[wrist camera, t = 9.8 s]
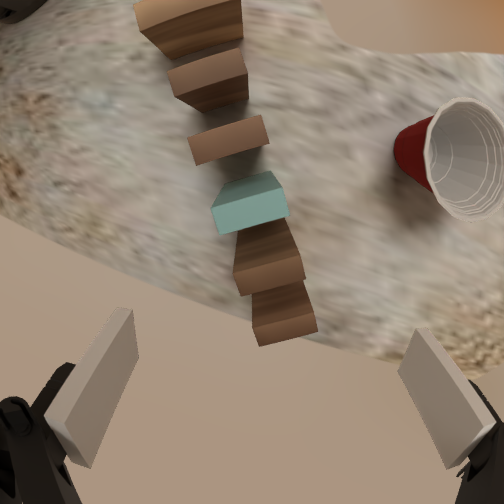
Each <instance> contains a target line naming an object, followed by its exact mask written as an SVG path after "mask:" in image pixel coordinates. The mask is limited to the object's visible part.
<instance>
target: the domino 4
mask: <svg viewBox="0 0 504 504" xmlns="http://www.w3.org/2000/svg"><path fill="white" fill-rule="evenodd" d="M233 276H234V278H235V281H236V284H237V287H238V290H239V293H240V295H241V296H245V295H249V294H253V293H257V292H261V291H264V290H268V289H272V288H276V287H279V286H283V285H287V284H290V283H294V282H298V281H301V280H305V279H306V277H305V272H304V268H303V264H302V260H301V256H300V253H299V251H298V248H297V246H296V244H295V241H294V239H293V236H292V234H291V232H290V229H289V227H288V225H287V222H286V220H285V218H284V217H283V218H280V219H276V220H272V221H269V222H265V223H262V224H258V225H255V226H251V227H248V228H244V229H241V230H238V237H237V244H236V252H235V259H234V267H233Z"/></svg>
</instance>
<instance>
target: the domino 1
mask: <svg viewBox="0 0 504 504" xmlns="http://www.w3.org/2000/svg"><path fill="white" fill-rule="evenodd" d="M167 74H168V77H169V80H170V84H171V87H172V90H173V94H174V97H176V98H177V99H179V100H181V101H183V102H185V103H186V104H188V105H190V106H192V107H193V108H195V109H197V110H198V111H200V112H202V113H203V112H206V111H209V110H212V109H216V108H219V107H222V106H225V105H228V104H232V103H235V102H238V101H242V100H245V99H249V90H248V72H247V69H246V66H245V63H244V60H243V57H242V55H241V52H240V49H239V48H236V49H232V50H228V51H225V52H222V53H218V54H215V55H212V56H209V57H205V58H202V59H199V60H196V61H193V62H191V63H188V64H185V65H182V66H179V67H177V68H174V69H171V70H169V71H167Z"/></svg>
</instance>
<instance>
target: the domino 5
mask: <svg viewBox="0 0 504 504" xmlns="http://www.w3.org/2000/svg"><path fill="white" fill-rule="evenodd" d="M252 328H253V331H254V334H255V337H256V339H257V342H258V345H259V346H264V345H268V344H272V343H277V342H281V341H285V340H289V339H293V338H297V337H300V336H304V335H308V334H311V333H315V332H318V328H317V324H316V319H315V315H314V311H313V308H312V305H311V302H310V299H309V297H308V294H307V291H306V288H305V285H304V282H303V280H301V281H298V282H294V283H290V284H287V285H283V286H279V287H276V288H272V289H268V290H264V291H261V292H257V293H253V294H252Z"/></svg>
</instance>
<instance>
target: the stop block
mask: <svg viewBox="0 0 504 504" xmlns="http://www.w3.org/2000/svg"><path fill="white" fill-rule="evenodd" d="M133 7H134V11H135V15H136V19H137V22H138V26H139V30H140V32H141V33H142V34H143V35H144V36H145V37H147V38H148V39H149V40H150V41H151V42H152V43H153V44H154V45H155V46H156V47H158V48H159V49H160V50H161V51H162V52H163V53H164V54H165V55H166V56H167V57H168V58H169V59H170V60H173V59H176V58H179V57H181V56H184V55H187V54H190V53H193V52H196V51H199V50H202V49H205V48H208V47H211V46H214V45H218V44H221V43H224V42H228V41H232V40H235V39H239V38H243V23H242V9H241V0H143V1H140V2H138V3H136V4H134V5H133Z"/></svg>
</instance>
